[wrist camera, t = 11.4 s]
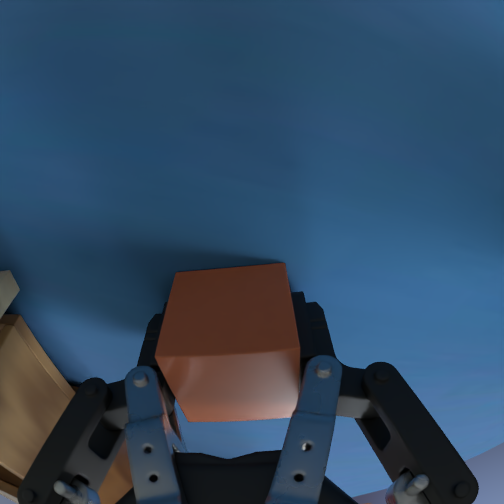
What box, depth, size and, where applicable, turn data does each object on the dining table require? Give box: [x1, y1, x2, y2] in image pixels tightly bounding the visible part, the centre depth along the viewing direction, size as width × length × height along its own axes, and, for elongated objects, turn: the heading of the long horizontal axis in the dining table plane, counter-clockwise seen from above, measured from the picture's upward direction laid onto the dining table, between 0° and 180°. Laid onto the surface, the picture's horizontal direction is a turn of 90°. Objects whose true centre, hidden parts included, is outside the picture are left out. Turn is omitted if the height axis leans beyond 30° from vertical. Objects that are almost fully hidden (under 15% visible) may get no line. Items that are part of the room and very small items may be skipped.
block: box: [155, 263, 300, 422], centre depth 12 cm, size 4×4×4 cm
